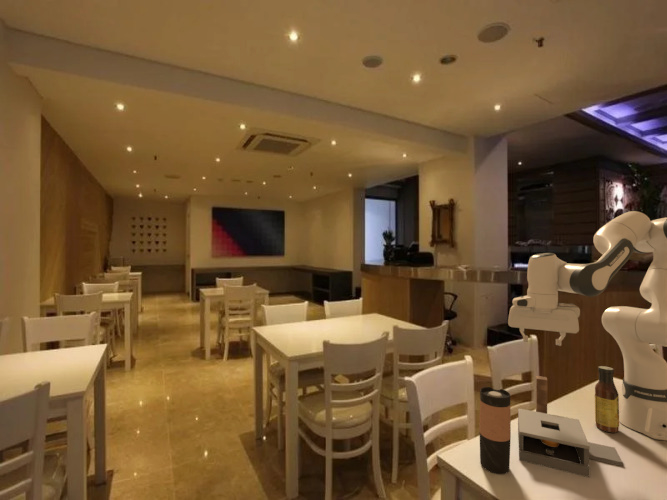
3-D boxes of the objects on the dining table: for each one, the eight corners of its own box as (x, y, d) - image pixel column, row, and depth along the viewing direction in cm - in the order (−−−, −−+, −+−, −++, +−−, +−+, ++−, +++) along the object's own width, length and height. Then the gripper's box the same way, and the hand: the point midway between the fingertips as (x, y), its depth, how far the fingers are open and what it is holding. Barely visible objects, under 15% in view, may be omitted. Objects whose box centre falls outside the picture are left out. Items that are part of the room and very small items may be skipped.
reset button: (558, 440, 102) (558, 432, 102) (560, 448, 98) (560, 439, 98) (540, 437, 104) (540, 428, 104) (541, 444, 100) (541, 435, 100)
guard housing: (578, 446, 104) (578, 419, 104) (589, 477, 90) (589, 446, 90) (518, 433, 111) (518, 408, 111) (519, 460, 97) (519, 431, 97)
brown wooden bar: (546, 424, 117) (546, 377, 117) (547, 428, 114) (547, 380, 114) (535, 422, 118) (536, 375, 118) (536, 426, 116) (536, 378, 116)
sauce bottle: (623, 434, 111) (624, 372, 111) (601, 432, 112) (601, 370, 112) (611, 424, 117) (612, 365, 117) (590, 422, 119) (591, 364, 119)
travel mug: (493, 477, 90) (493, 399, 90) (473, 460, 97) (473, 388, 97) (517, 472, 92) (517, 396, 92) (495, 455, 99) (496, 385, 99)
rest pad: (614, 450, 102) (614, 447, 102) (622, 466, 95) (622, 462, 95) (581, 443, 106) (581, 440, 106) (586, 457, 98) (586, 454, 98)
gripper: (578, 303, 114) (577, 345, 114) (508, 298, 124) (508, 337, 124) (581, 305, 109) (581, 350, 109) (508, 300, 118) (507, 341, 118)
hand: (541, 343), depth 116 cm, fingers open, 8 cm apart
